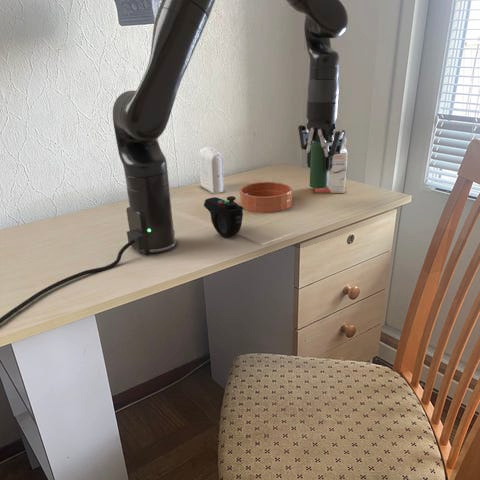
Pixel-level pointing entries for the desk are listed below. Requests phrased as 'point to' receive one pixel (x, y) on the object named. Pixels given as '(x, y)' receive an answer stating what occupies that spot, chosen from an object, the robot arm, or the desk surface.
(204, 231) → the desk surface
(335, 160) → the ink cartridge box
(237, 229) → the controller
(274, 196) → the bowl
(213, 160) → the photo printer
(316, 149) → the green cylinder
